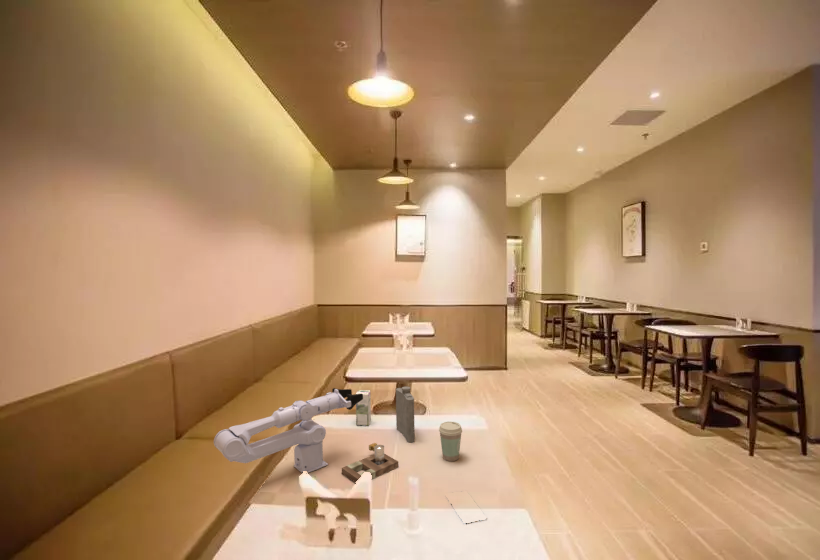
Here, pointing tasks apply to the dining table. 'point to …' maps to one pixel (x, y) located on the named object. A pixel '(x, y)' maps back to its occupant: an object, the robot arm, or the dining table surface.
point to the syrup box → (363, 408)
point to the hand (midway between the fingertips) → (356, 394)
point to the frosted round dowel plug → (379, 454)
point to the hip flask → (405, 413)
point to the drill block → (369, 467)
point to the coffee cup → (450, 440)
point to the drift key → (372, 446)
